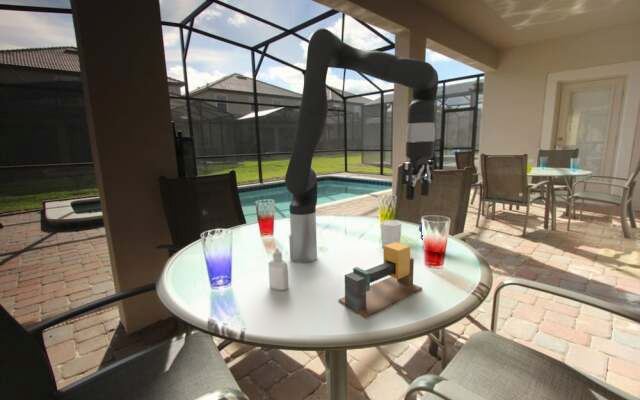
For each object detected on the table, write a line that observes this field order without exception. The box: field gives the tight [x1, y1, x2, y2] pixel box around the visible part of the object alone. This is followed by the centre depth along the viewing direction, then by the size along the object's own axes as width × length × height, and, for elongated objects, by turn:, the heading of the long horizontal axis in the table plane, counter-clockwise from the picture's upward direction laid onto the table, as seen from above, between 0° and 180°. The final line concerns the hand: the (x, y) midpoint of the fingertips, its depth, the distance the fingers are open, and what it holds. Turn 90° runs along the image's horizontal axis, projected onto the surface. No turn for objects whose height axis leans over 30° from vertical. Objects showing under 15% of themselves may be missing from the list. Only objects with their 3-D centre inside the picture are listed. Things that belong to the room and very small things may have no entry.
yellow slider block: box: [383, 242, 411, 279], centre depth 81 cm, size 5×5×8 cm
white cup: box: [380, 219, 403, 249], centre depth 115 cm, size 8×8×10 cm
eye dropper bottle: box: [268, 247, 290, 291], centre depth 84 cm, size 4×6×12 cm
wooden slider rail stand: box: [338, 257, 423, 319], centre depth 78 cm, size 22×10×9 cm, turn 127°
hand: (417, 197), depth 85 cm, fingers open, 8 cm apart
